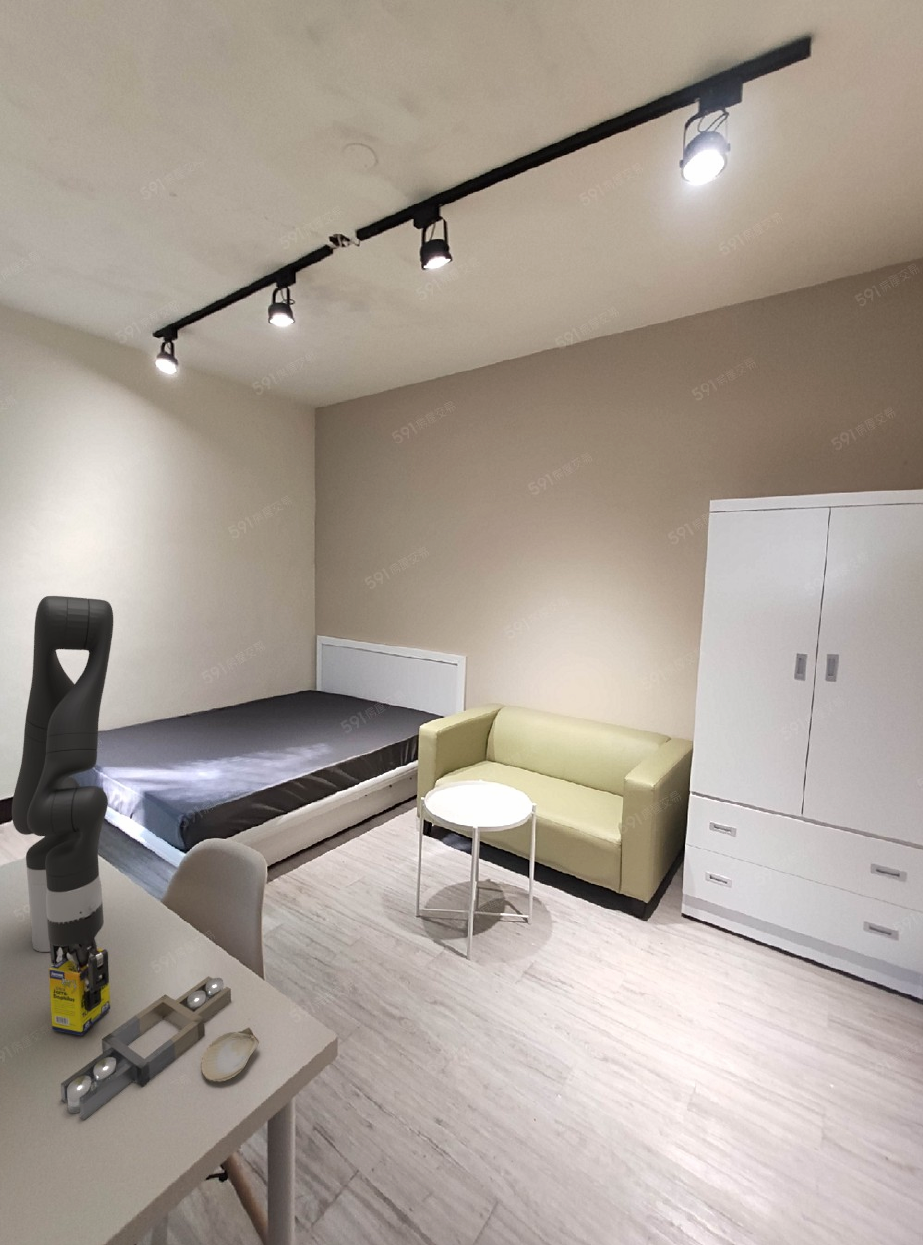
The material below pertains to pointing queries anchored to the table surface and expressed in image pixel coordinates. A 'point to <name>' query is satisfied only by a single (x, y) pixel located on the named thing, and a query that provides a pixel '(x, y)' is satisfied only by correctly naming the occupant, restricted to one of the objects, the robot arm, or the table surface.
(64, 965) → the supplement box
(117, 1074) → the frame
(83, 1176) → the table surface
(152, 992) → the table surface
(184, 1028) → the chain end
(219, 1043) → the seashell
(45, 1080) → the table surface
